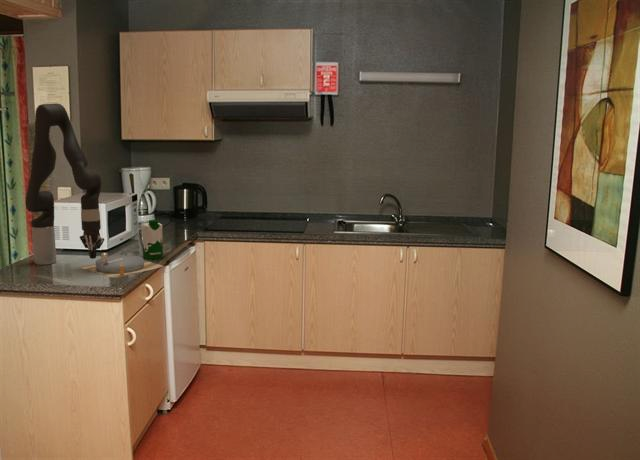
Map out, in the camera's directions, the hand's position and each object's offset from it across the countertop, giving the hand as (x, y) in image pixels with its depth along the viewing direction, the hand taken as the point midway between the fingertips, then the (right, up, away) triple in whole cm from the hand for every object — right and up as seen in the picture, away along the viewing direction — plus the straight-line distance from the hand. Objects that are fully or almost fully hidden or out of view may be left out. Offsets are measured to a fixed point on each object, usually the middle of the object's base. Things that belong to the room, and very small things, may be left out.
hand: (93, 258), depth 236 cm
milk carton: (+19, -3, +25) cm, 31 cm away
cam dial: (+10, -4, +5) cm, 12 cm away
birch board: (+10, -6, +7) cm, 14 cm away
